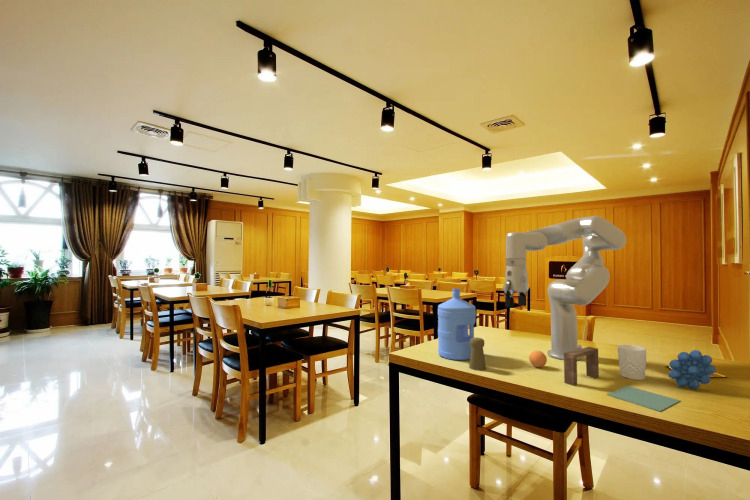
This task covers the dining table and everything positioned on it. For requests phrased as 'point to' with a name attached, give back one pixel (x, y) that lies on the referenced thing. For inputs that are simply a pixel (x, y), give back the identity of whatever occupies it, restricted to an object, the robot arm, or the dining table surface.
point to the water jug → (455, 327)
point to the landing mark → (643, 398)
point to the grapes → (691, 369)
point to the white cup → (632, 361)
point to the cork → (477, 354)
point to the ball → (537, 358)
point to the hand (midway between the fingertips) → (515, 306)
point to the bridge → (571, 364)
